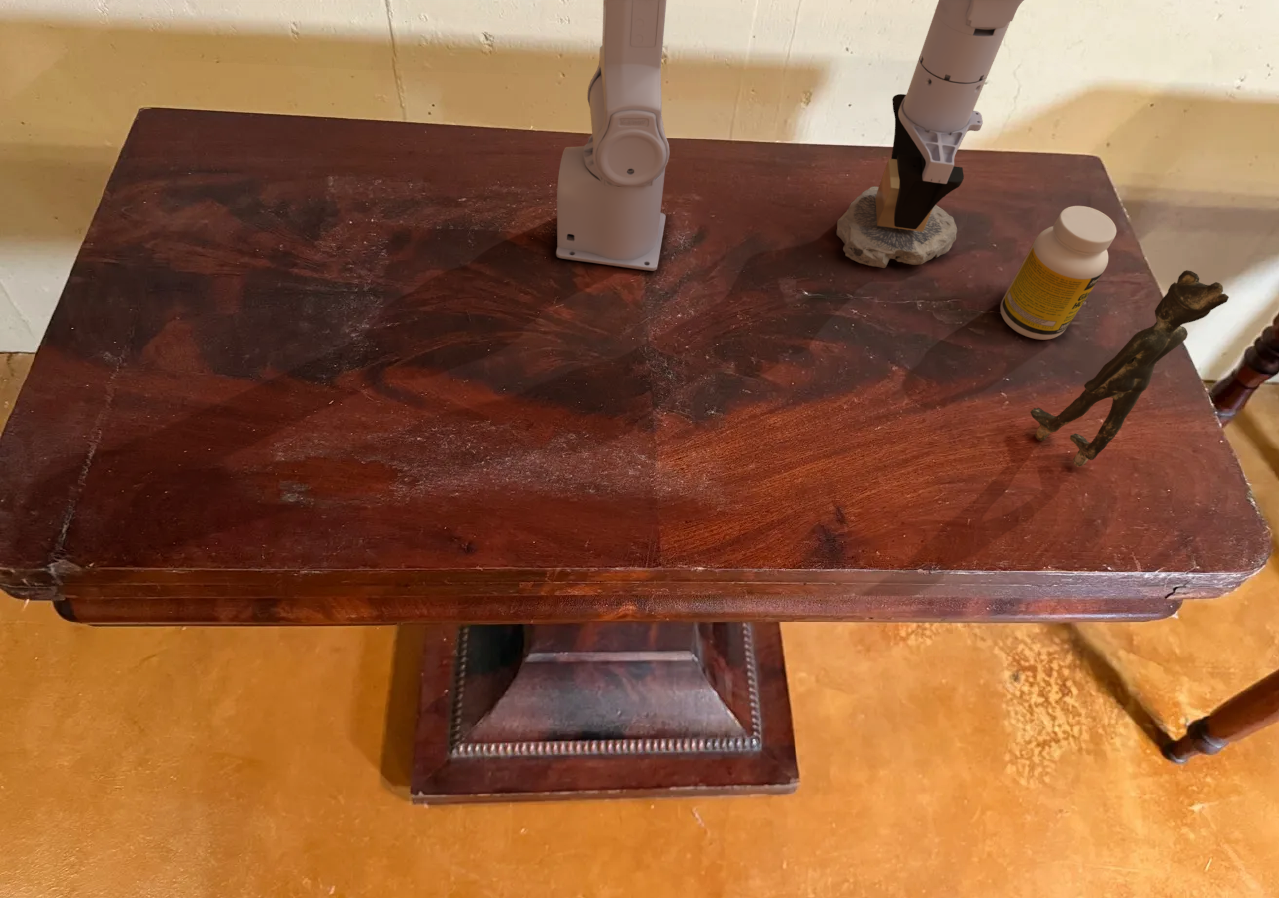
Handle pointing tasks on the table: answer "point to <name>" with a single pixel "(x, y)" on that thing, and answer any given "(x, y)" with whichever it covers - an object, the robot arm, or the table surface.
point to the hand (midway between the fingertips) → (903, 199)
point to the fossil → (892, 235)
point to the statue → (1134, 364)
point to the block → (891, 198)
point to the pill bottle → (1058, 273)
